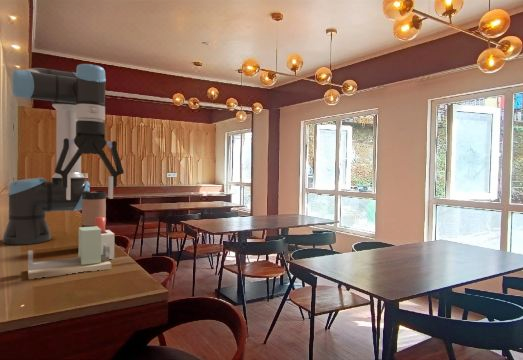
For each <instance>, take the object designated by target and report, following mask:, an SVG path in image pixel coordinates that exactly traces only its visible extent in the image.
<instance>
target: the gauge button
mask: <svg viewBox="0 0 523 360" xmlns="http://www.w3.org/2000/svg"><path fill="white" fill-rule="evenodd" d="M95 226H97V227H99V228H100V229H101V234H105V217H95Z"/></svg>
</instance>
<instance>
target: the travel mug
mask: <svg viewBox="0 0 523 360" xmlns="http://www.w3.org/2000/svg"><path fill="white" fill-rule="evenodd" d="M106 193H107V192H106V191H105V190H95V191H91V192H89V191H83V192H82V210H81V227H94V226H95V217H105V230H107V229H106V222H107V217H106V216H107V215H106V213H107V212H106V211H107V204H106V202H107V201H106V200H107V199H106V198H107V197H106V195H107V194H106Z"/></svg>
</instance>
